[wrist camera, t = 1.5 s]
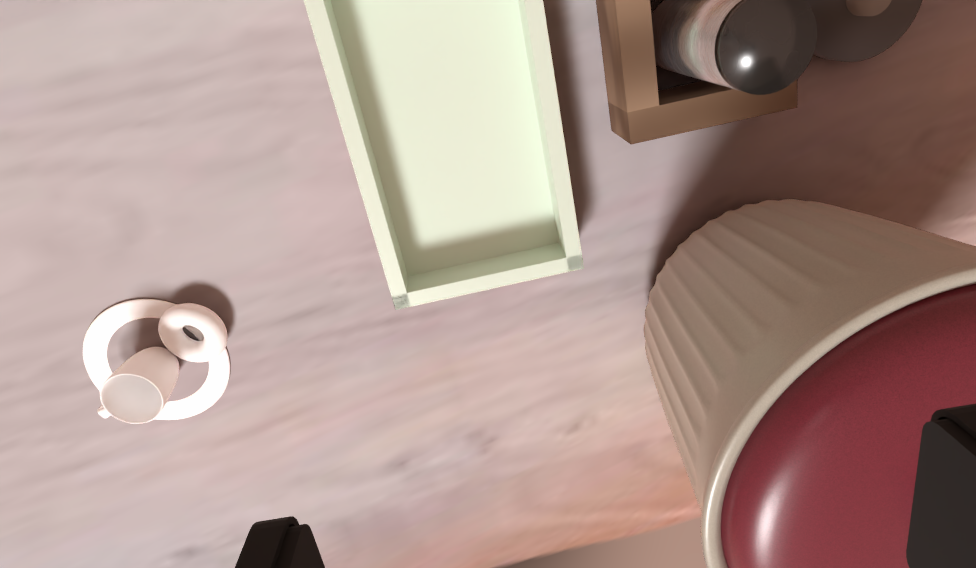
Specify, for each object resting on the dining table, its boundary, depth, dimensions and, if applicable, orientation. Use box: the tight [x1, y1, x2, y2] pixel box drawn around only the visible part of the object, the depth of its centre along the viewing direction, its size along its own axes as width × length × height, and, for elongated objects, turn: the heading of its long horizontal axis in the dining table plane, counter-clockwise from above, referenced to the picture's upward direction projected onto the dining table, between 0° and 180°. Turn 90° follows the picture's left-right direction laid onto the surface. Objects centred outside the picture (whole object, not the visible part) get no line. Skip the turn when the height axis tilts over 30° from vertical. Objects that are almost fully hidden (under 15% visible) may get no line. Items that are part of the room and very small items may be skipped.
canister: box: [644, 199, 976, 568], centre depth 28 cm, size 18×18×21 cm
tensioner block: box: [596, 0, 922, 144], centre depth 30 cm, size 8×16×4 cm, turn 101°
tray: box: [304, 0, 584, 310], centre depth 31 cm, size 17×10×3 cm, turn 11°
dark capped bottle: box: [651, 0, 817, 95], centre depth 27 cm, size 4×4×9 cm
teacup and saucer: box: [83, 299, 230, 424], centre depth 35 cm, size 9×8×4 cm
